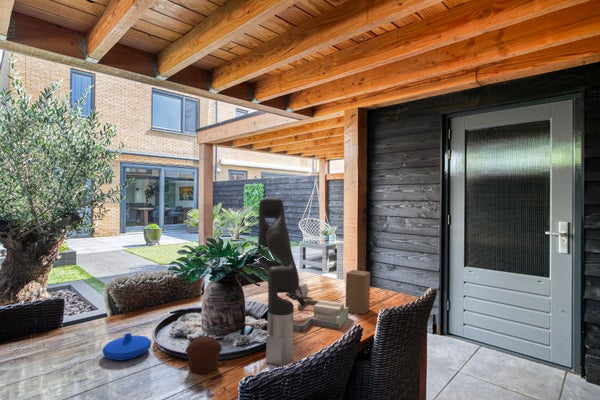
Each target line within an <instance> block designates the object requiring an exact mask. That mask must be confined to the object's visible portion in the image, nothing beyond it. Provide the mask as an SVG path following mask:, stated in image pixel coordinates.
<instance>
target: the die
mask: <svg viewBox="0 0 600 400" xmlns="http://www.w3.org/2000/svg"><path fill="white" fill-rule="evenodd" d="M299 286H300V288H301V291H302V294H303V295H302V298H303V299H307V296H308V294H309V291H310V289H309V287H308V284H307V283H303V282H302V283H300V282H299Z"/></svg>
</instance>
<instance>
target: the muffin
mask: <svg viewBox="0 0 600 400" xmlns="http://www.w3.org/2000/svg"><path fill="white" fill-rule="evenodd" d="M222 347H223V346H222V344H221V343H220V341H219V340H217V339H216V338H215V337H212V336H207V335H205V336H204V335H203V336H200V337H196V338H195V339H193V340H192V341H190V343H189V344H188V345H187V347H186V349H185V353H186V354H187V359H188V367H189V371H191V374H192V375H197V376H205V375H209V374H211V373H213V372H216V369H217V368H218V366H219V365H218V364H219V360H220V355H221V351H222V349H223V348H222Z"/></svg>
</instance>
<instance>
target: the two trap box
mask: <svg viewBox="0 0 600 400" xmlns="http://www.w3.org/2000/svg"><path fill="white" fill-rule="evenodd" d="M304 301H305V302H306V304H305V305H304V306H301V304H300V303H298V304H297V310H298V311H301V310H305V311H310V312H314V305H315V304H317V303H318V302H319V301H320V300H314V299H310V298H309V299H308V298H304ZM348 318H349V312H348V307H345V306H344V310H343V311H342V312H341V313H340V314H339V315H338V316H337V317H336V322H332V321H327V320H321V319H315V318H314V317H308V318H307V319H306V320H305V321H300V320H299V321H298V320H294V319H293V331H295V332H300V333H301V332H302V333H304V332H305V331H306V330H307V329H308V328H309V327H310V326H311V325H312V326H319V327H325V328H329V329H335V330H339V329H340V328H341V327H342V326H343V324H344V323H345V322H346V321H347V319H348Z"/></svg>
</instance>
